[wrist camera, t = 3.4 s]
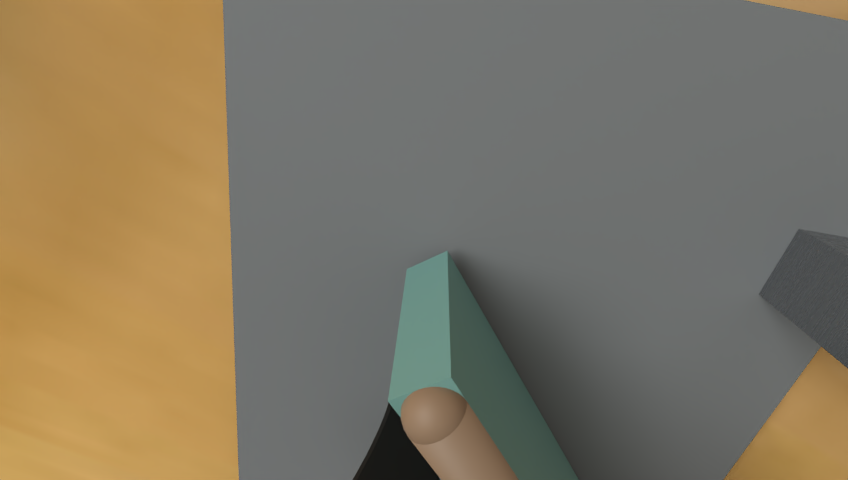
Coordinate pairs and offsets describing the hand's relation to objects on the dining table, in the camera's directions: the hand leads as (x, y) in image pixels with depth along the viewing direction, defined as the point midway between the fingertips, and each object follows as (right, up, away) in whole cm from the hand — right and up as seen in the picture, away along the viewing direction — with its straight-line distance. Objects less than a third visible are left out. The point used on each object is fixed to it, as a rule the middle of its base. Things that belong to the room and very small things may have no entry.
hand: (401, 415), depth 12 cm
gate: (+4, 0, +1) cm, 4 cm away
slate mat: (+3, +1, +1) cm, 4 cm away
